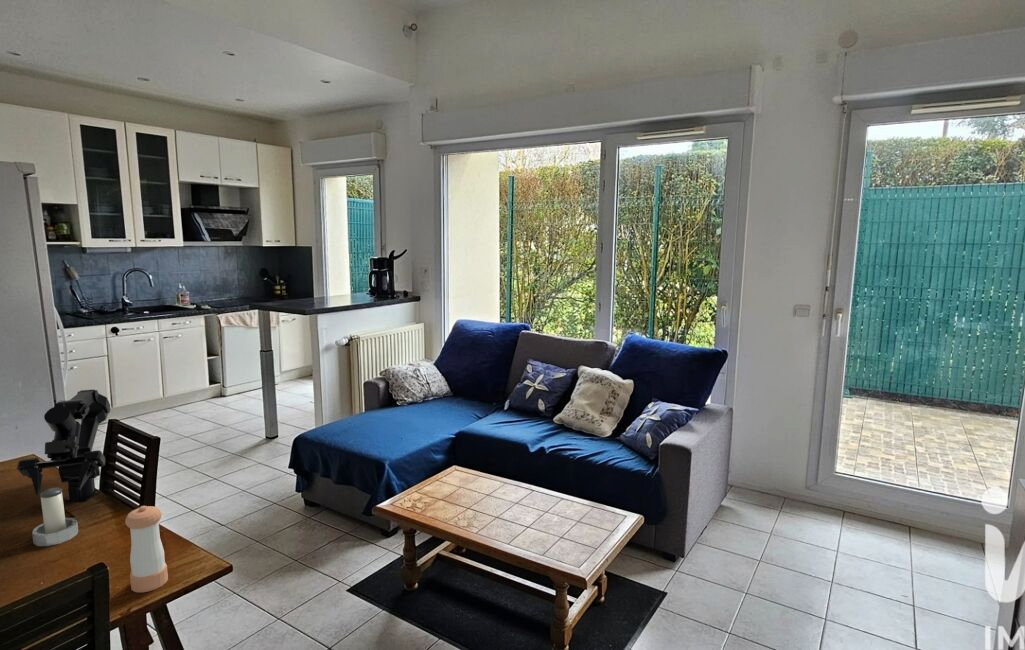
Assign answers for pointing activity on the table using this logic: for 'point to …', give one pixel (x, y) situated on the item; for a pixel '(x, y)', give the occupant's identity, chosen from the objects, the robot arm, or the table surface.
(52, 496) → the peg
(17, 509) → the table surface
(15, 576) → the table surface
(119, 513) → the table surface
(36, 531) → the collar
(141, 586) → the pepper shaker
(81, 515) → the table surface
